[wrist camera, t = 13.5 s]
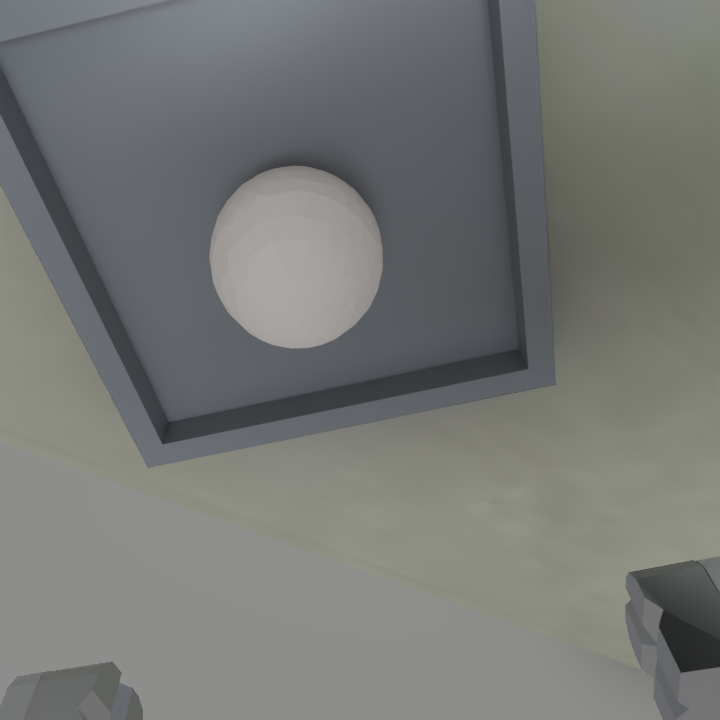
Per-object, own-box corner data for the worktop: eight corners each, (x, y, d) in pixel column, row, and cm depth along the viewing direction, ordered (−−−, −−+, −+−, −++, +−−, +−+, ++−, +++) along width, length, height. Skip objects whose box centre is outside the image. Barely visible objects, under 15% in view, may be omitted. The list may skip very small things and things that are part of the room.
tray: (506, -129, 22) (527, -135, 20) (539, 355, 33) (555, 384, 31) (-51, 10, 23) (-87, 18, 21) (157, 435, 34) (147, 467, 32)
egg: (228, 129, 26) (200, 198, 19) (389, 158, 27) (415, 233, 20) (215, 277, 29) (187, 380, 22) (358, 297, 30) (372, 402, 23)
